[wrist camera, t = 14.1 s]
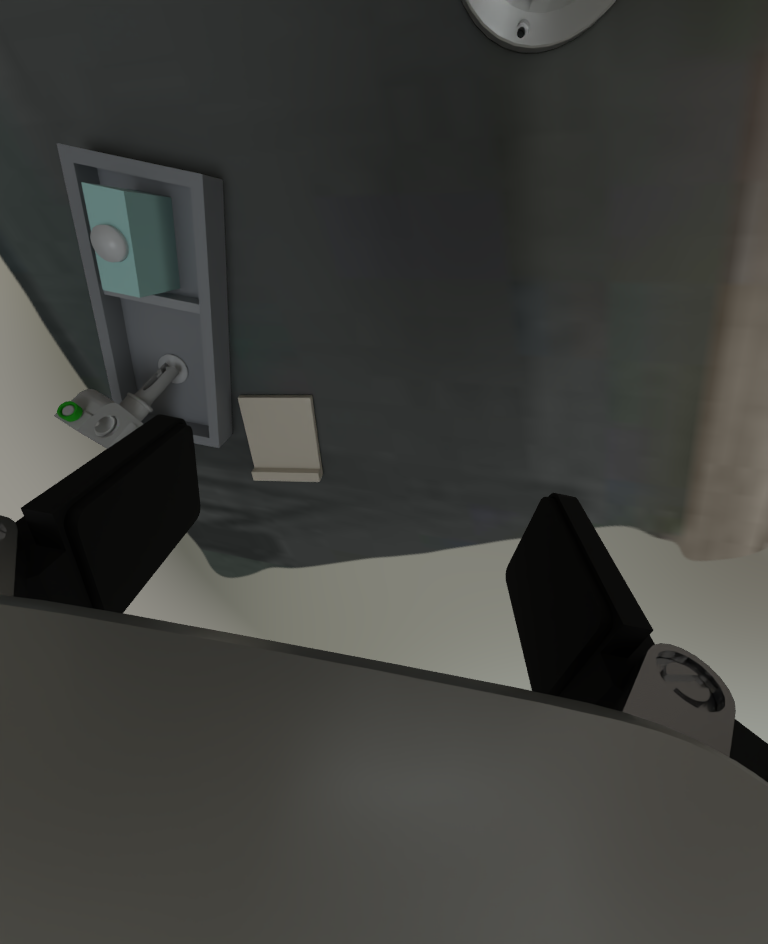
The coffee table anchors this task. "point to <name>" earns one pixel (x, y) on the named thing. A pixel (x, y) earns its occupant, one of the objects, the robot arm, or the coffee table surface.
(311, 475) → the lid plate
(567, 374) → the coffee table surface
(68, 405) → the mechanical component
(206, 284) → the housing
